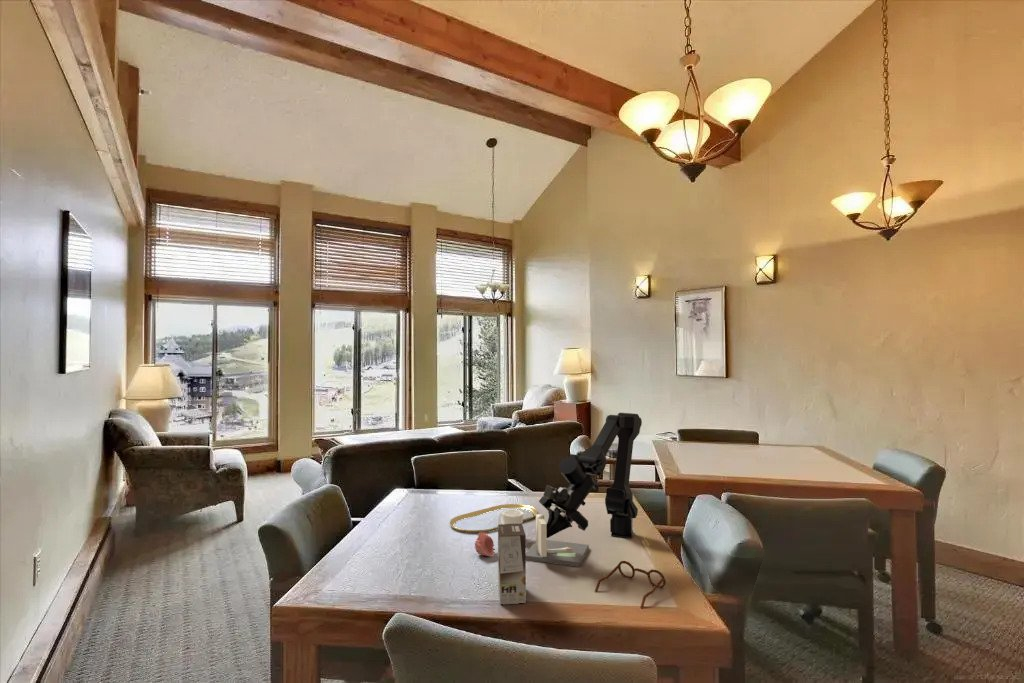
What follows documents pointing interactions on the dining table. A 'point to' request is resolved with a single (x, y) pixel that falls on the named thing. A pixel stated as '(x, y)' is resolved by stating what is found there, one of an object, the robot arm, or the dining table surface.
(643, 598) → the glasses
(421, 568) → the dining table surface
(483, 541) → the flower
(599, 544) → the dining table surface
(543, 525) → the tuning peg
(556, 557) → the grey board
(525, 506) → the yellow oval loop
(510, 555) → the coffee box
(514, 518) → the cup
